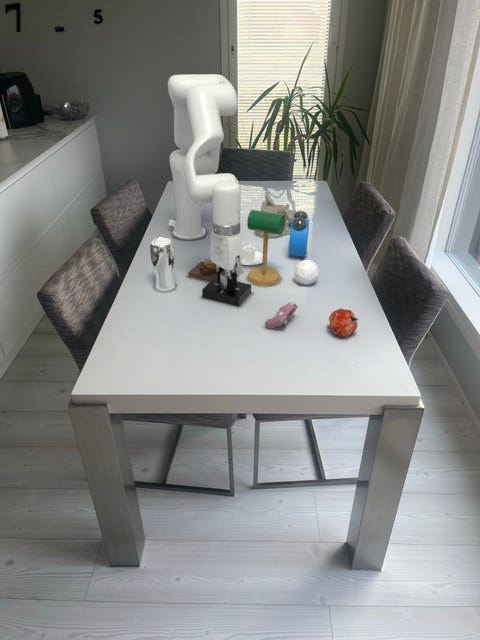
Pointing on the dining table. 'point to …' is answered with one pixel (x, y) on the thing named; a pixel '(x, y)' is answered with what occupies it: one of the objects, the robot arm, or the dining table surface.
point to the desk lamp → (265, 244)
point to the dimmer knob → (224, 279)
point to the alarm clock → (299, 234)
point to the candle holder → (251, 256)
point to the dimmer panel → (226, 293)
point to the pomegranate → (343, 322)
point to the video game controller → (281, 315)
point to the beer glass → (163, 262)
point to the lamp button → (208, 263)
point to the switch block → (203, 272)
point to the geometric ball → (306, 272)
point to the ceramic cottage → (278, 209)
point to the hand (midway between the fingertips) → (226, 285)
